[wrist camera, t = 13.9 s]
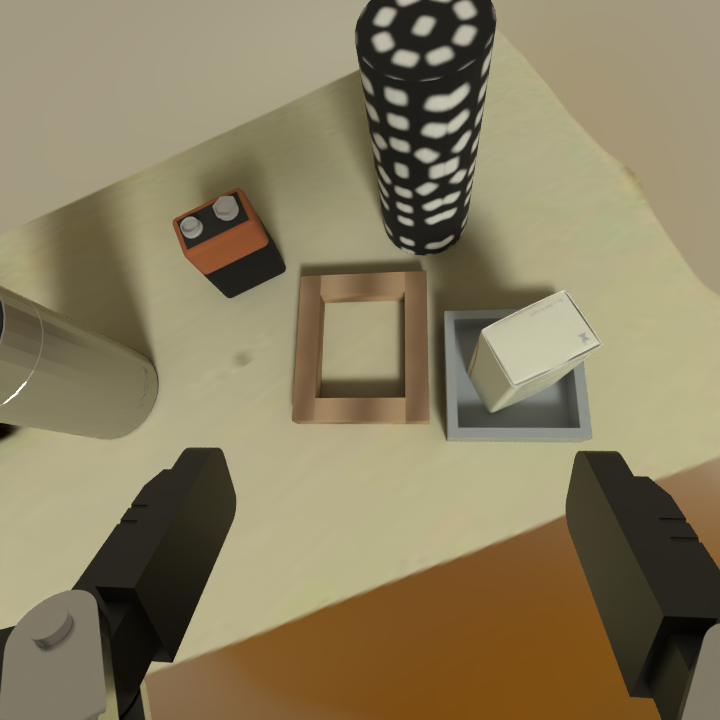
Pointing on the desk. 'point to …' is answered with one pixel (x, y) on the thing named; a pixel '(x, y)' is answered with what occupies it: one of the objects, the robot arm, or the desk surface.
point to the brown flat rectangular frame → (311, 347)
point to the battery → (229, 244)
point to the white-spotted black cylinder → (425, 111)
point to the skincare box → (530, 351)
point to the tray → (520, 420)
